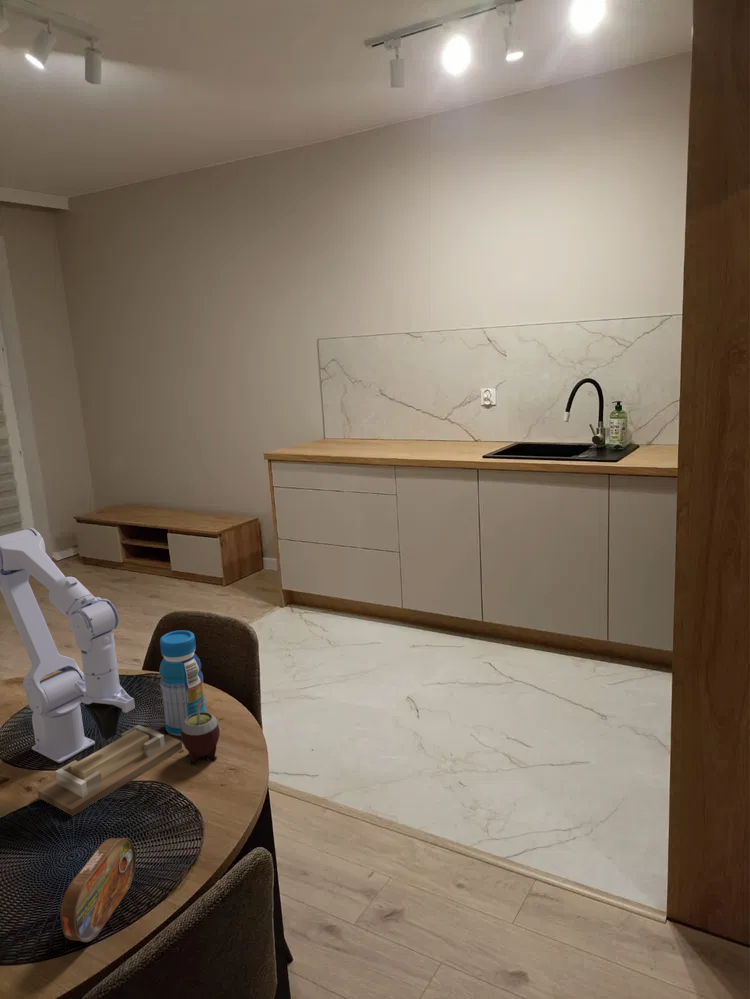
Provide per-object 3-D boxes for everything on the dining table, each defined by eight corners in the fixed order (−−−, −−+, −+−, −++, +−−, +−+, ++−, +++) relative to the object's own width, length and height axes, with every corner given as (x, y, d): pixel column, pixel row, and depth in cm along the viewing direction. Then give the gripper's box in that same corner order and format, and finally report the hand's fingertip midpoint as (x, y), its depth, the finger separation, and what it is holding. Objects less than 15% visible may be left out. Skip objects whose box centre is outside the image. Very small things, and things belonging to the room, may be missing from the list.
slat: (72, 780, 130) (70, 766, 130) (137, 743, 141) (135, 729, 141) (86, 788, 128) (84, 773, 127) (150, 749, 139) (148, 735, 139)
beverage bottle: (164, 740, 145) (154, 648, 140) (166, 719, 153) (156, 630, 148) (207, 734, 147) (199, 642, 142) (207, 713, 155) (198, 625, 150)
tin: (82, 957, 95) (73, 903, 93) (60, 954, 96) (52, 900, 94) (140, 874, 110) (134, 825, 108) (121, 871, 110) (114, 823, 108)
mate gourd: (199, 743, 144) (192, 673, 140) (232, 751, 140) (226, 680, 137) (174, 763, 137) (166, 691, 134) (208, 773, 134) (200, 699, 130)
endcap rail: (38, 797, 128) (35, 777, 127) (148, 733, 148) (146, 715, 147) (72, 817, 123) (69, 796, 122) (182, 748, 142) (180, 729, 141)
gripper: (56, 667, 131) (66, 735, 134) (106, 687, 123) (116, 758, 126) (90, 652, 137) (99, 717, 140) (140, 670, 129) (148, 739, 132)
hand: (109, 736), depth 133 cm, fingers closed
